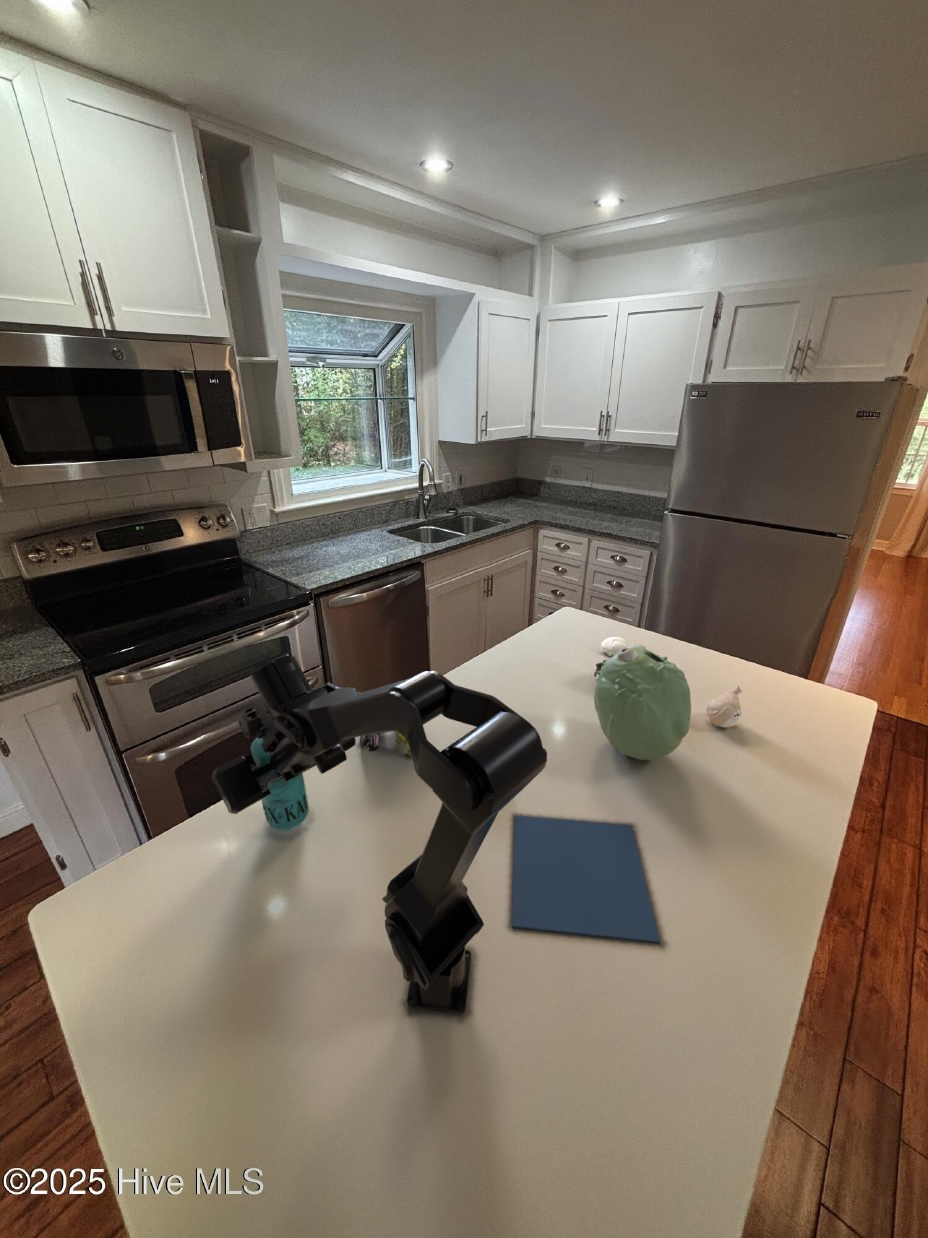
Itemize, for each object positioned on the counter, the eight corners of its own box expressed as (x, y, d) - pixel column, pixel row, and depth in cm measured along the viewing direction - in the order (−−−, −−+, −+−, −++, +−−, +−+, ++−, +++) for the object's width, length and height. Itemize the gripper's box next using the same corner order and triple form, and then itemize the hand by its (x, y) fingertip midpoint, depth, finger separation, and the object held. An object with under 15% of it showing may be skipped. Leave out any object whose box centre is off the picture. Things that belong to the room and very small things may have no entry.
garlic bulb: (744, 733, 98) (754, 699, 94) (711, 733, 98) (720, 698, 94) (729, 713, 104) (737, 680, 100) (698, 713, 104) (705, 680, 100)
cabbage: (645, 796, 83) (665, 694, 74) (568, 735, 97) (577, 644, 89) (704, 762, 90) (728, 666, 82) (624, 710, 105) (637, 625, 96)
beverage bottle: (266, 814, 79) (241, 710, 71) (308, 801, 82) (289, 699, 73) (269, 845, 74) (243, 737, 65) (315, 830, 76) (295, 724, 68)
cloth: (659, 943, 61) (660, 941, 60) (511, 927, 62) (511, 925, 62) (631, 826, 77) (631, 825, 77) (514, 816, 79) (514, 815, 79)
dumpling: (629, 654, 128) (632, 643, 125) (618, 664, 125) (620, 653, 122) (607, 641, 132) (609, 630, 129) (595, 650, 129) (597, 639, 126)
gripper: (336, 662, 71) (305, 698, 82) (200, 720, 58) (186, 753, 70) (374, 731, 69) (337, 758, 80) (243, 805, 57) (222, 825, 68)
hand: (275, 770), depth 75 cm, fingers closed on beverage bottle, 6 cm apart
